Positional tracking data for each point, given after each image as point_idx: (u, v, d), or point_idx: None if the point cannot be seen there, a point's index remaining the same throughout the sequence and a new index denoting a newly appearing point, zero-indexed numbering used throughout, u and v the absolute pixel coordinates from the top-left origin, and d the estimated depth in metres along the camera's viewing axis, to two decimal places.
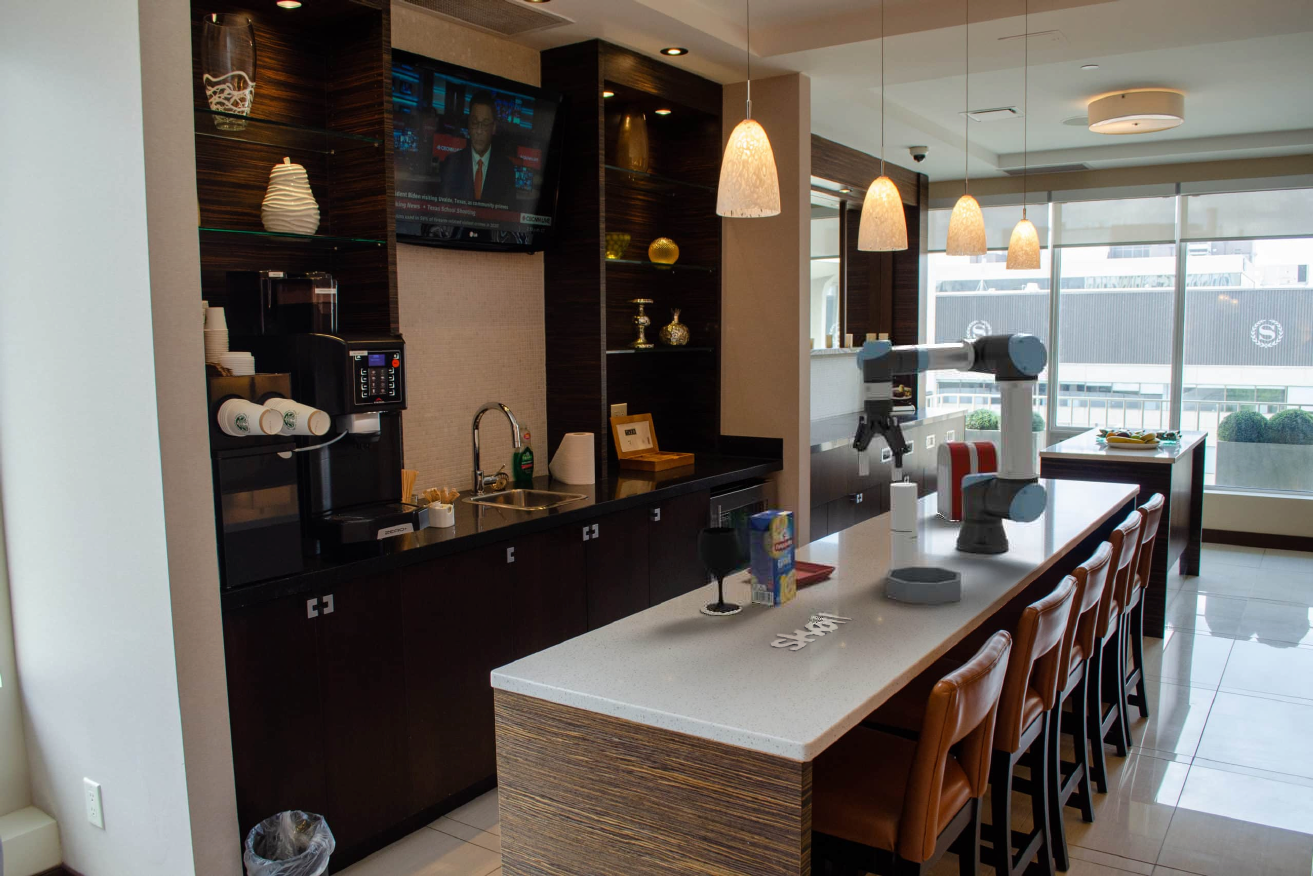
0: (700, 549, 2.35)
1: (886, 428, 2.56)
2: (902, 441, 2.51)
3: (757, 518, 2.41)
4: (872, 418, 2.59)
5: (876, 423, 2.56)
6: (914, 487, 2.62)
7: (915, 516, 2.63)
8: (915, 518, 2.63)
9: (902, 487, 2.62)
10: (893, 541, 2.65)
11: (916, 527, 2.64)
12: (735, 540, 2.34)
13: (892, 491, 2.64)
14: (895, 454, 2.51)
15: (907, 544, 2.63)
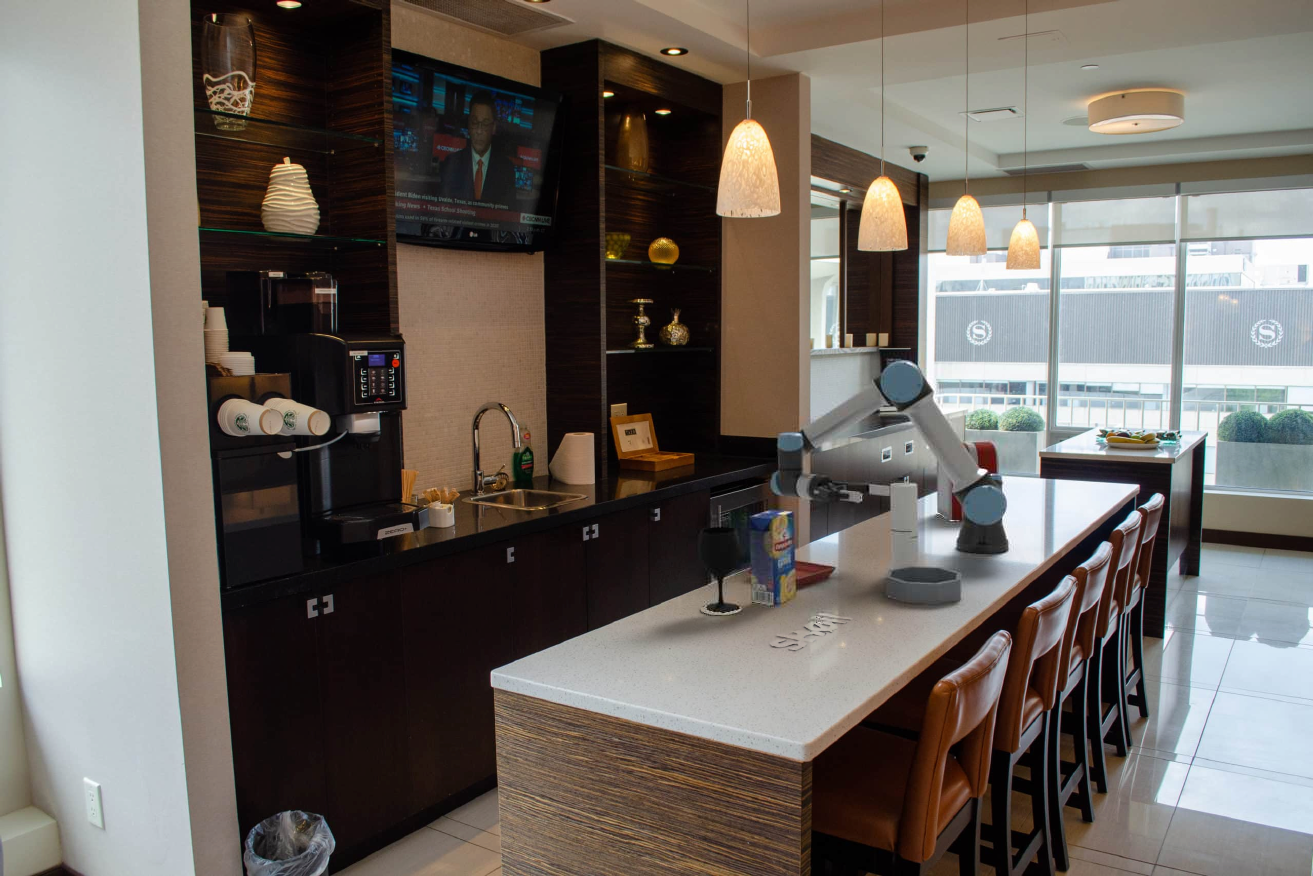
0: (700, 549, 2.35)
1: (830, 490, 2.81)
2: (825, 493, 2.74)
3: (757, 518, 2.41)
4: None
5: None
6: (914, 487, 2.62)
7: (915, 516, 2.63)
8: (915, 518, 2.63)
9: (902, 487, 2.62)
10: (893, 541, 2.65)
11: (916, 527, 2.64)
12: (735, 540, 2.34)
13: (892, 491, 2.64)
14: (835, 500, 2.73)
15: (907, 544, 2.63)
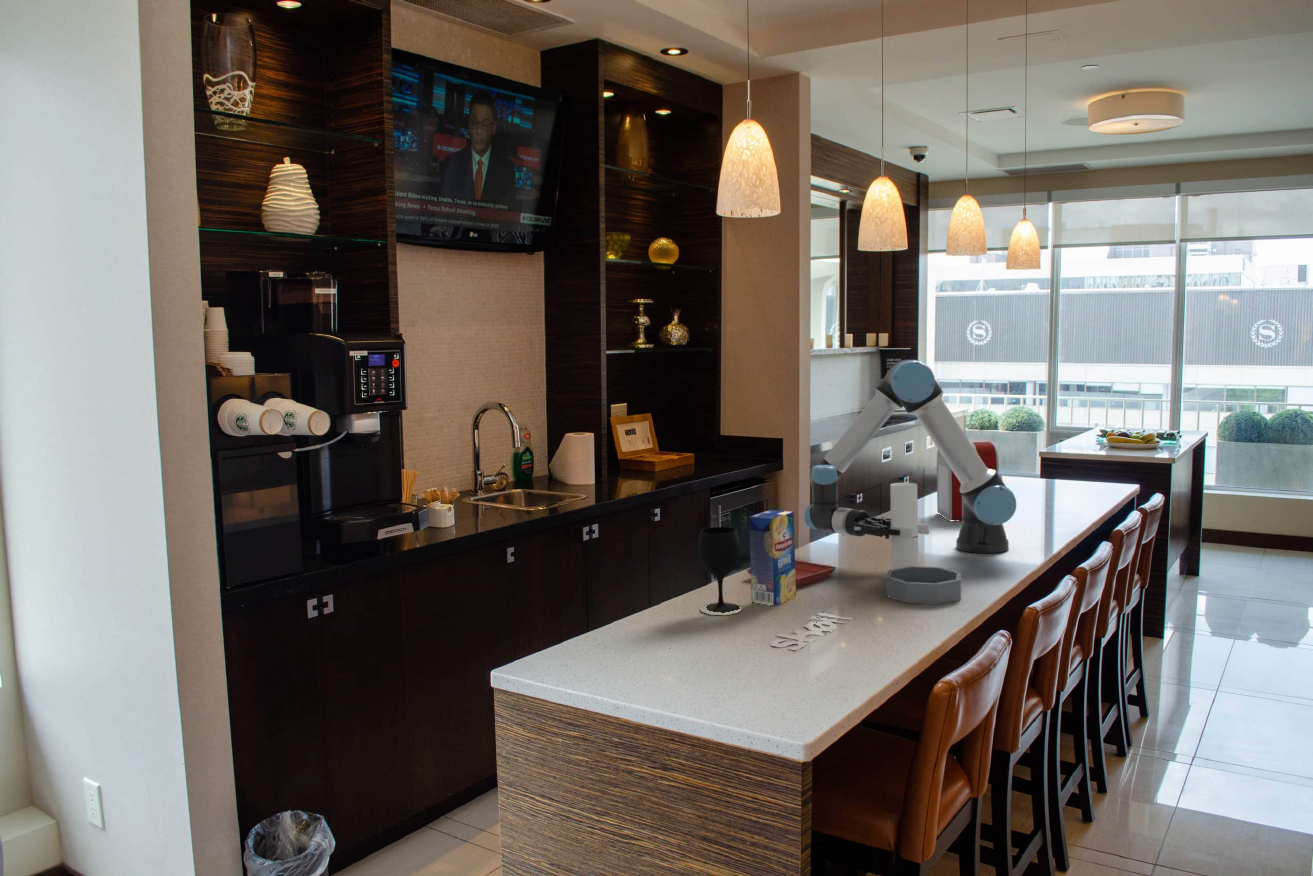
0: (700, 549, 2.35)
1: None
2: (872, 529, 2.66)
3: (757, 518, 2.41)
4: None
5: None
6: (914, 487, 2.62)
7: (915, 516, 2.63)
8: (915, 518, 2.63)
9: (902, 487, 2.62)
10: (893, 541, 2.65)
11: (916, 527, 2.64)
12: (735, 540, 2.34)
13: (892, 491, 2.64)
14: (887, 536, 2.64)
15: (907, 544, 2.63)
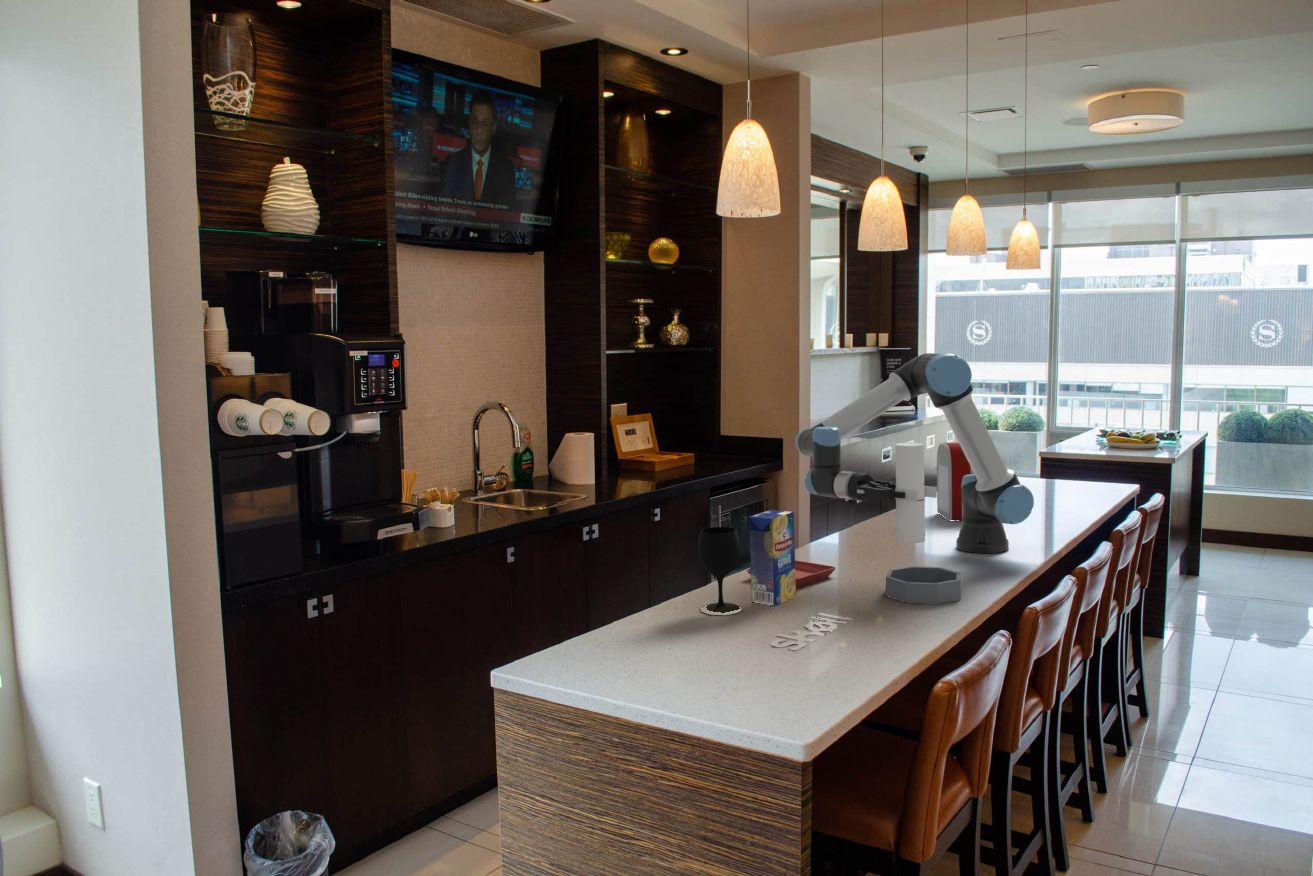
0: (700, 549, 2.35)
1: None
2: (876, 492, 2.49)
3: (757, 518, 2.41)
4: None
5: None
6: (921, 446, 2.46)
7: (921, 478, 2.46)
8: (921, 480, 2.47)
9: (908, 446, 2.45)
10: (898, 504, 2.49)
11: (923, 489, 2.47)
12: (735, 540, 2.34)
13: (897, 451, 2.48)
14: (891, 499, 2.48)
15: (913, 507, 2.46)
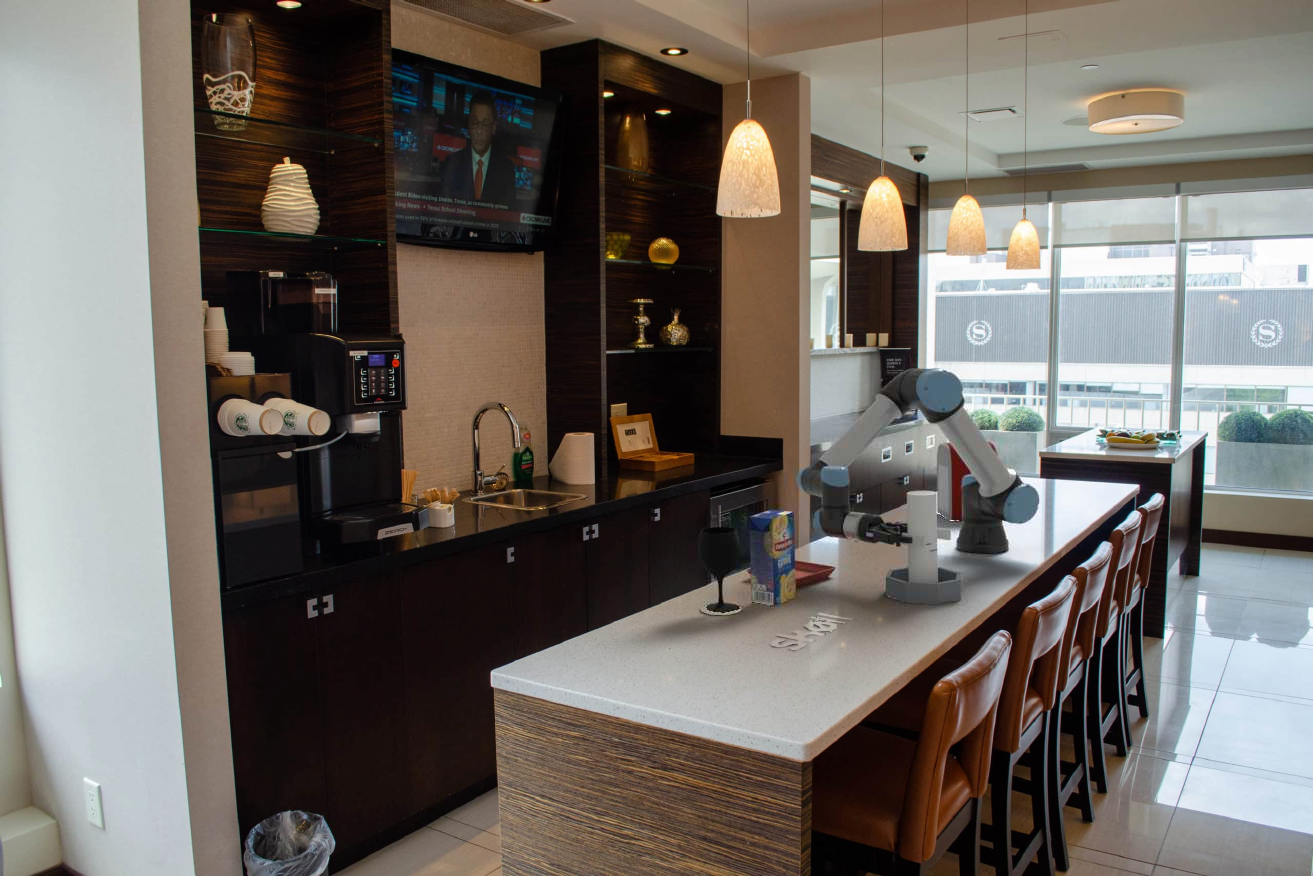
0: (700, 549, 2.35)
1: (884, 532, 2.50)
2: (883, 536, 2.44)
3: (757, 518, 2.41)
4: None
5: None
6: (933, 496, 2.40)
7: (934, 527, 2.42)
8: (934, 529, 2.42)
9: (920, 496, 2.40)
10: (910, 554, 2.44)
11: (936, 539, 2.42)
12: (735, 540, 2.34)
13: (909, 500, 2.42)
14: (897, 544, 2.42)
15: (926, 558, 2.41)
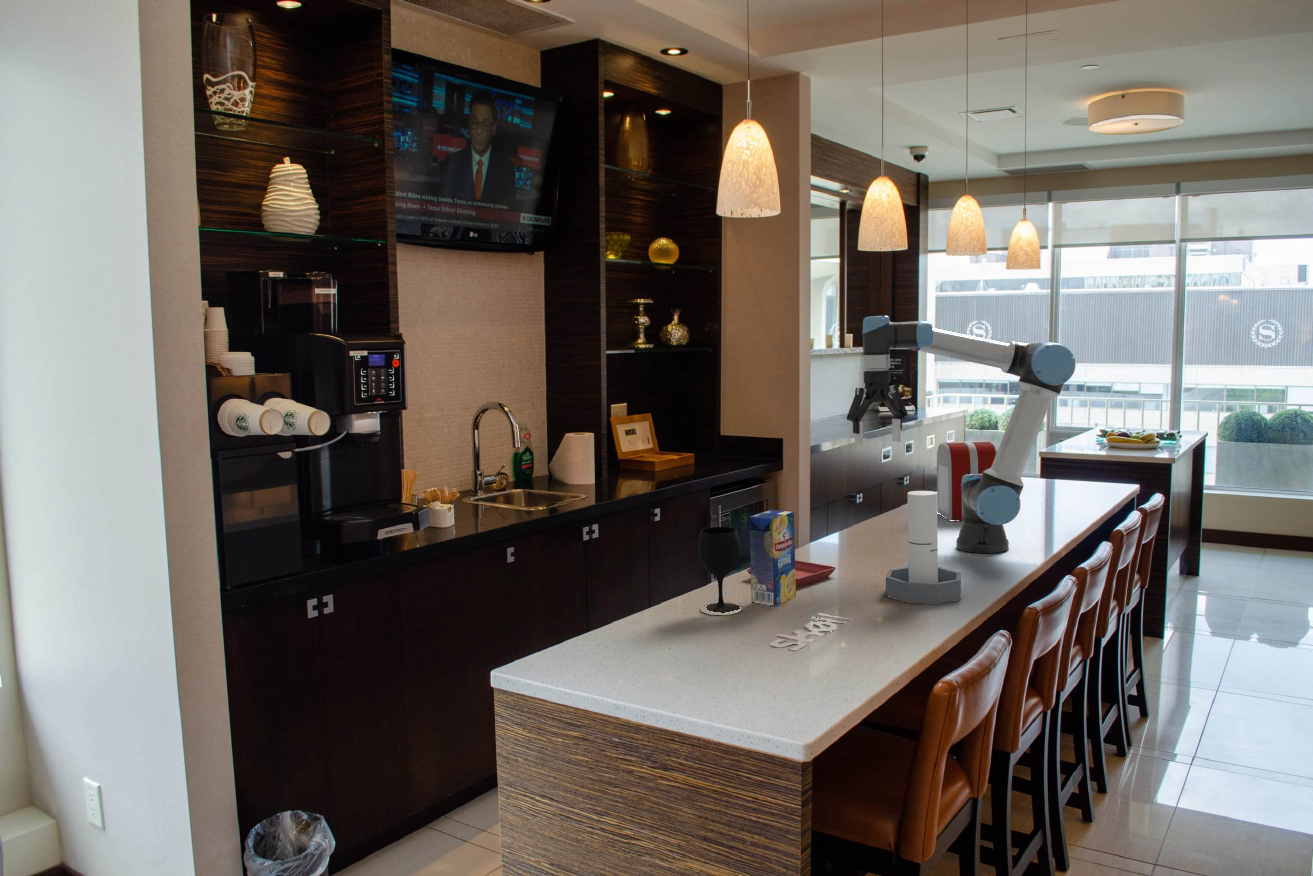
0: (700, 549, 2.35)
1: (869, 397, 2.79)
2: (853, 409, 2.76)
3: (757, 518, 2.41)
4: None
5: None
6: (934, 496, 2.41)
7: (935, 527, 2.42)
8: (935, 529, 2.42)
9: (921, 496, 2.40)
10: (911, 554, 2.44)
11: (936, 539, 2.42)
12: (735, 540, 2.34)
13: (910, 500, 2.43)
14: None
15: (926, 558, 2.41)
